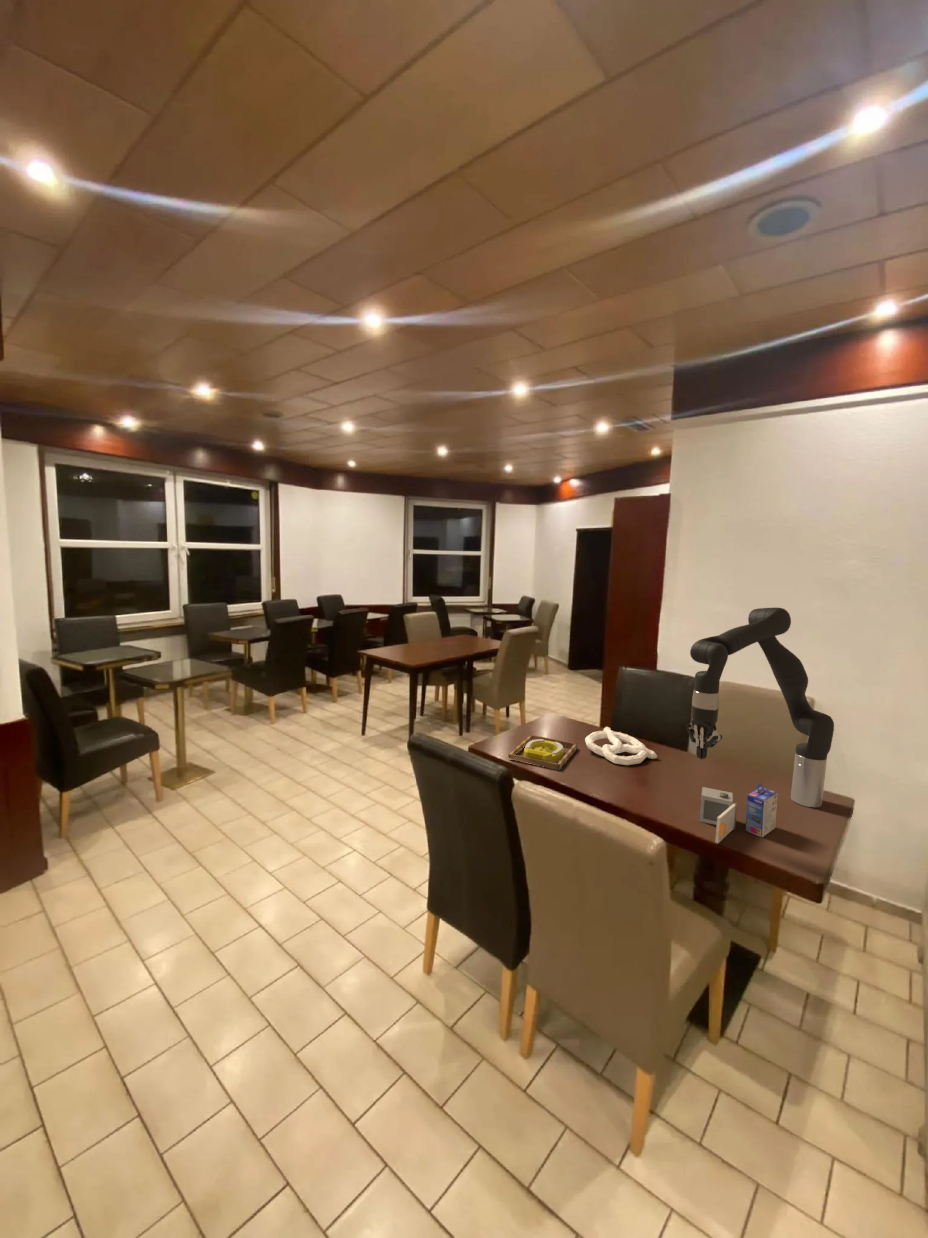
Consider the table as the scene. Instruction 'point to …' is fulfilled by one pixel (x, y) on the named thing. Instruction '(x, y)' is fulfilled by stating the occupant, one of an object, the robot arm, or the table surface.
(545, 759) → the ashtray
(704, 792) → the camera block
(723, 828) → the door
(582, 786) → the table surface
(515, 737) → the table surface
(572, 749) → the wooden tray
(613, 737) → the pretzel
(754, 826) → the ink cartridge box
